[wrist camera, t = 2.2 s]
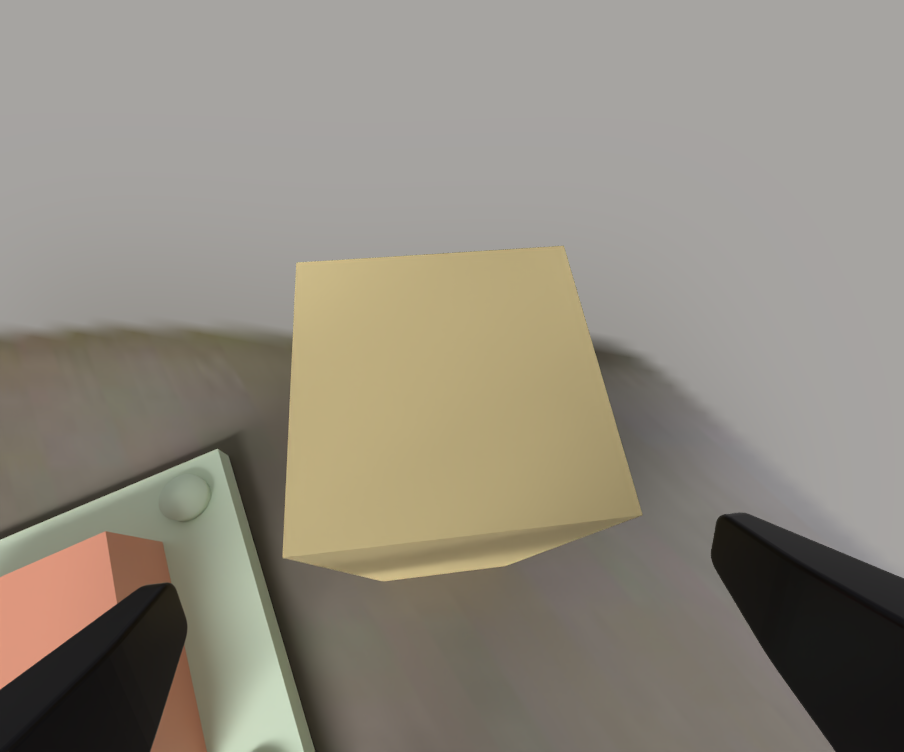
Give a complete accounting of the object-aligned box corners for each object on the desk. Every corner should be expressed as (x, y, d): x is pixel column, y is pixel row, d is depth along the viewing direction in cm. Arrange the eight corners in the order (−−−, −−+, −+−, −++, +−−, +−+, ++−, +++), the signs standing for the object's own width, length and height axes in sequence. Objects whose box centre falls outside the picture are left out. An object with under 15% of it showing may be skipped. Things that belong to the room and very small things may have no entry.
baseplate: (331, 807, 13) (293, 887, 10) (-150, 1114, 11) (-450, 1382, 7) (228, 455, 18) (177, 421, 14) (-127, 606, 15) (-303, 611, 11)
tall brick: (505, 566, 16) (642, 514, 6) (383, 581, 16) (282, 557, 5) (486, 449, 18) (564, 245, 8) (377, 460, 18) (296, 262, 7)
